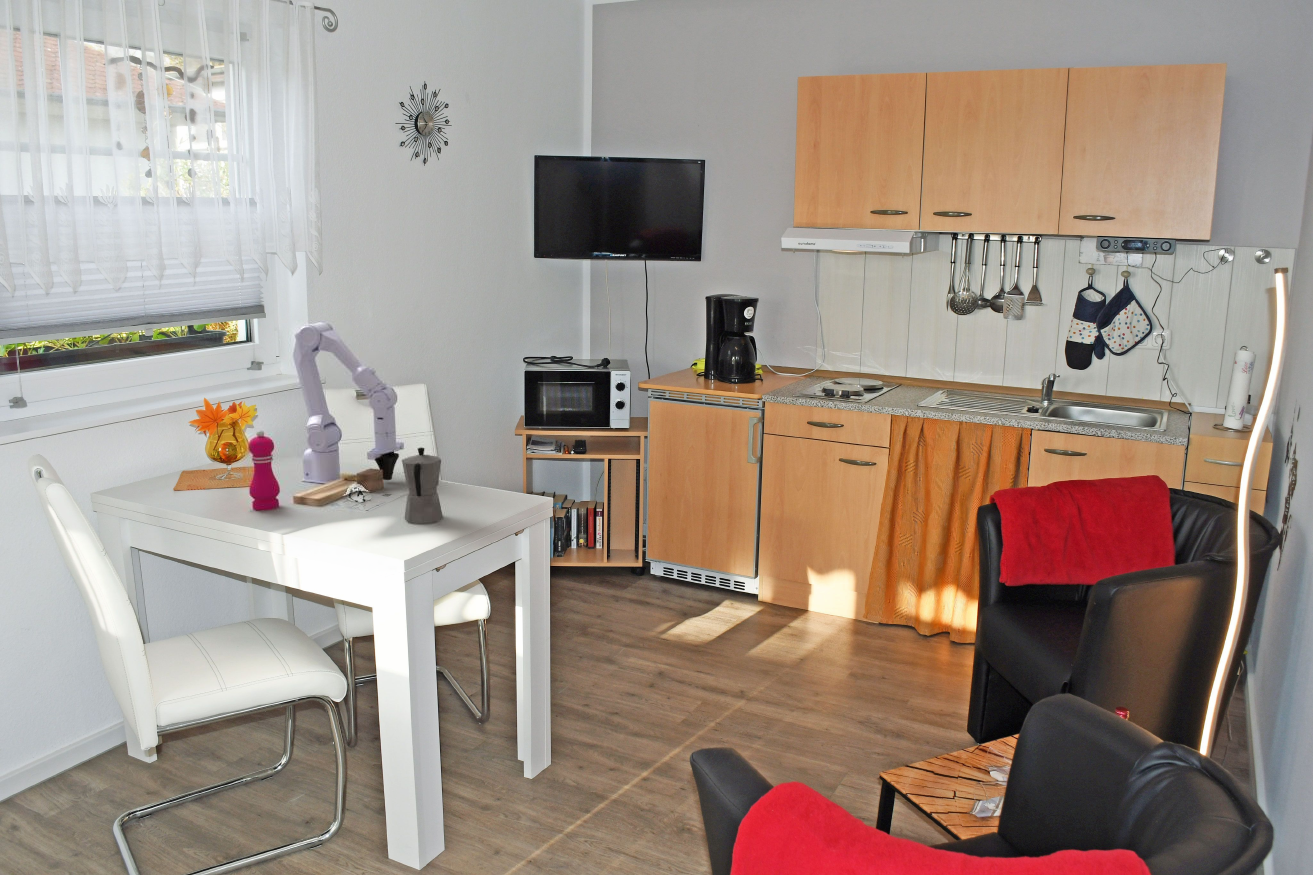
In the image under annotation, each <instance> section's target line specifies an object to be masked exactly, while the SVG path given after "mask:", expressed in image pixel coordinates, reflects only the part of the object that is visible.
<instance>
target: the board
mask: <svg viewBox="0 0 1313 875" xmlns="http://www.w3.org/2000/svg"><path fill="white" fill-rule="evenodd" d="M354 483H357V480H355V479H346V480H344V478H340V479H337V480H335V481H332V482H329V483H327V484H322V485H319V486H316V487H314V488H310V489H307V490H306V491H302V492H299V493H297V494H294V495H292V500H293V501H292V502H293V504H297V505H307V506H314V507H321V506H323V505H327V504H329V503H331V502H333V501H336V500H339V499H342V498H343V497H342V496H343V495H344V494H346V492H347V489H348V488H349V486H350V485H351V484H354ZM341 497H342V498H341Z"/></svg>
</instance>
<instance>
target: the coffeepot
mask: <svg viewBox="0 0 1313 875" xmlns="http://www.w3.org/2000/svg"><path fill="white" fill-rule="evenodd" d="M417 452H418V454H417V455H416V454H415V455H411V456H407V457H405V458H403V459H401V464H402V468H403V469H402V470H403V474H404V478H405V483H406V484H405V485H406V486H407V488H408V494H407V495H406V496H407V497H406V505H405V511H404V519H405V520H404V521H406V522H407V523H408V524H413V525H429V524H434V523H437V522H439V521H441V520H442V519H443V518H444V516H443V512H442V506H441V502H440V497H439V493H438V491H437V490H438V489H437V487H438V486H439V482H440V473H441V472H440V471H441V465H442V459H441V458H440V457H439V456H437V455H430V454H425V448H424V447H418V448H417Z"/></svg>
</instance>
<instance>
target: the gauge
mask: <svg viewBox="0 0 1313 875" xmlns="http://www.w3.org/2000/svg"><path fill="white" fill-rule="evenodd" d="M340 476H341V478H344V480H346V479H355V480H357V484H360V485H362V486H363V487H364V488H365V489H366V490H368V491H369V492H371V493H373V492H376V491H378V490H380V489H381V490H382V489H383V488H384V480H383V470H380V469H379V468H367V469H364V470H362V471H359V472H357V473H356V474H354V473H353V474H352V473H344V472H343V473H340Z"/></svg>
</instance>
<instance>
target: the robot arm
mask: <svg viewBox="0 0 1313 875" xmlns="http://www.w3.org/2000/svg"><path fill="white" fill-rule="evenodd" d="M294 338H295V344H294V348H293V352H292V358H293V361H294V366H295V369H296V373H297V377H298V380H299V383H300V384H299V385H300V388H301V391H302V395H303V399H304V403H305V406H306V411H307V413H308V421H307V423H306V430H307V434H306V443H307V446H308V447H309V448H308V449H306V450H305V451H304V453H303V454H302V455H303V456H302V466H303V467H302V468H303V469H302V470H303V478H302V480H301V481H302V482H308V483H316V484H322V485H324V484H327V483H329V482H332V481H335V480H337V479H340V478H341V467H340V465H341V464H340V450H339V447H340V446H339V443H340V442H341V440H342V438H343V432H342V429H341V428H340V426H339V425H338V423H337V422H336V418H335V417H334V416H333V415H332V414H331V413H330V411H329V406H328V403H327V400H326V396H325V391H324V387H323V385H322V381H321V377H320V373H319V370H318V365H317V360H316V357H317V356H318V355H319V353H320V352H327V353H331V354H332V355H333V356H334V357H335V358H337V359H338V360H339V362H340V363H341V364H343V366H344V367H345V368H346V369H347V370H349V372H351V378H352V382H354V384H355V385H356V386H357V387H358V388H359V389H360V390H361V392H362V393H363V394H364V396H365V397H366V398H367V399H369V400H368V403H369V406H370V407H371V409H372V411H373V429H374V430H373V433H374V434H373V435H374V447H373V448H372V449H371V450H370V451H367V453H366V456H367V458H366V459H367V460H369V461H370V460H372V461H374V462H375V463H376V465H377V467H378V469H380V470H383V481H391V480H392V479H393V475H394V470H395V466H396V464H397V461H398V460H399V457H400V454H399V453H398V452H399V451H400V450H401V451H402V450H405V444H404V442H402V441H397V430H396V429H397V428H396V415H395V414H396V413H395V412H396V411H395V410H396V408H395V407H396V406H395V405H396V404H397V403H398V393H397V392H396V391H395V388H392V387H390V386H388V385H387V383H386V382H383V381H382V380H381V379H380V378H379V377H378V376H377V374H376V370H375V369H374V368H370V366H364V365H362V364H361V362H360V360H358V358H357V357H356V356H355V355H354V354H353V352H352V351H351V350H350V348H349V347H348V346H347V345H346V344H345V342H344V341H343V339H342V338H341V336H340V334H339V332H338V331H337V330H336V329H334V327H333V326H332V325H331V324H330V323H329V322H326V321H319V322H316V323H310V324H303V325H302V326H301V327H299V329H298V330H297V332H296V333H295V334H294ZM396 452H397V453H396Z"/></svg>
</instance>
